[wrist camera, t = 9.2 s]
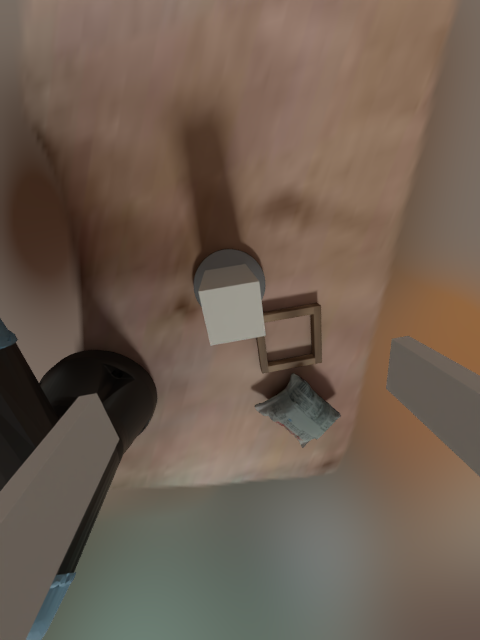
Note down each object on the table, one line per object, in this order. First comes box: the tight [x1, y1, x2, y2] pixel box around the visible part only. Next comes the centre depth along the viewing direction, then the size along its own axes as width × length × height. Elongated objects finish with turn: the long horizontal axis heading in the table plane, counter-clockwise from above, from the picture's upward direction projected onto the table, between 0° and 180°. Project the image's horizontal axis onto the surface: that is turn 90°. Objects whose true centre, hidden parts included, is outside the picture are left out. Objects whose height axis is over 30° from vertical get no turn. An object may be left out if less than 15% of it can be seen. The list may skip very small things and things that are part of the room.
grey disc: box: [194, 249, 265, 307], centre depth 29 cm, size 9×9×1 cm
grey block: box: [198, 264, 266, 345], centre depth 24 cm, size 5×5×10 cm
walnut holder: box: [256, 303, 322, 373], centre depth 32 cm, size 9×9×1 cm
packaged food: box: [255, 373, 341, 448], centre depth 36 cm, size 9×12×5 cm
